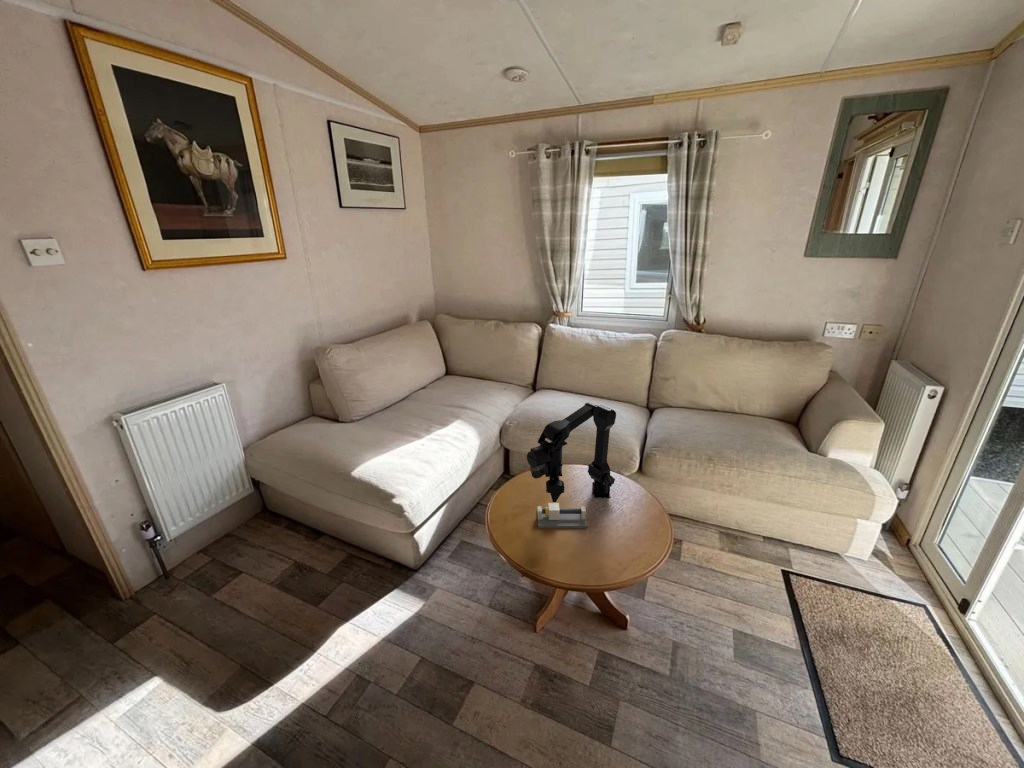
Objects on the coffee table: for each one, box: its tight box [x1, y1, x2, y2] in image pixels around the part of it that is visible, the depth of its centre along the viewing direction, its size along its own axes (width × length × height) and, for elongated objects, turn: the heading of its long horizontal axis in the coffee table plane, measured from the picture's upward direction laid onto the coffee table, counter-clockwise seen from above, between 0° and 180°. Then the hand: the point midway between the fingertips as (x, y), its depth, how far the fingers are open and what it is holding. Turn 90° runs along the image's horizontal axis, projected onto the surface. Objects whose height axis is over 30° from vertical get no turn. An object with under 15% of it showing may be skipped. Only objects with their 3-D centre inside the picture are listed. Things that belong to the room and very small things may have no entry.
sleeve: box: [547, 502, 560, 520], centre depth 150 cm, size 4×4×4 cm
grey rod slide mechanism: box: [536, 505, 588, 529], centre depth 150 cm, size 18×10×5 cm, turn 88°
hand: (553, 494), depth 147 cm, fingers open, 9 cm apart
